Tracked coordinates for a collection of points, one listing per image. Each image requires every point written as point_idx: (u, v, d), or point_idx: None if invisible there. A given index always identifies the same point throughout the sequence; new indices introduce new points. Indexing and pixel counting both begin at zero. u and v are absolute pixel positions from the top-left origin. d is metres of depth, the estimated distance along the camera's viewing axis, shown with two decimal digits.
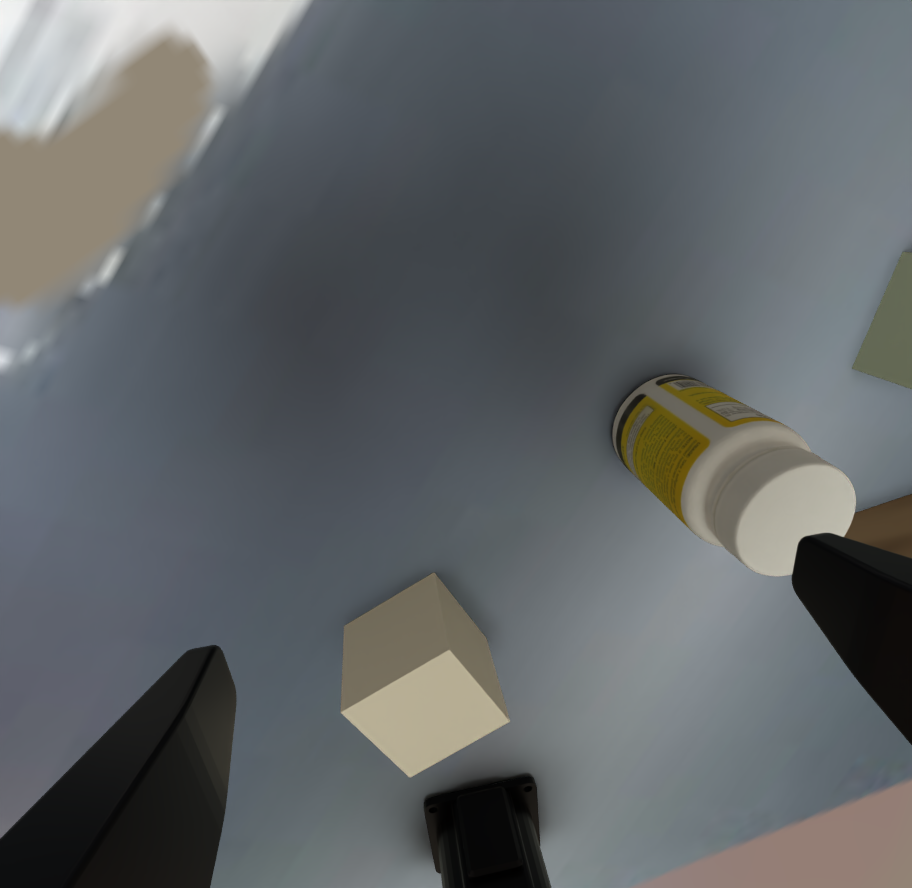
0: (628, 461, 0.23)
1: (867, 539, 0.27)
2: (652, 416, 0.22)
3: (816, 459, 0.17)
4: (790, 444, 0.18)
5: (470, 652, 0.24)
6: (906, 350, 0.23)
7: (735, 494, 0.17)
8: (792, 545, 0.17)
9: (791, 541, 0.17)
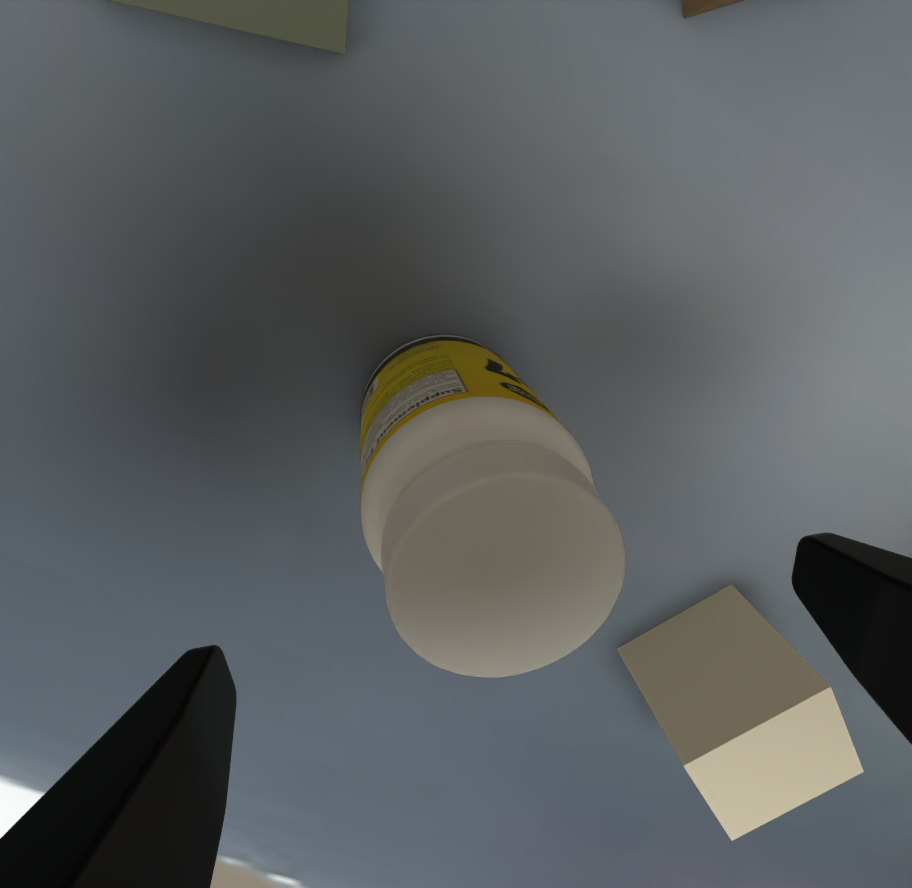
0: None
1: None
2: None
3: (386, 560, 0.09)
4: (390, 499, 0.10)
5: (716, 687, 0.19)
6: (271, 12, 0.11)
7: None
8: (558, 580, 0.09)
9: (548, 583, 0.09)
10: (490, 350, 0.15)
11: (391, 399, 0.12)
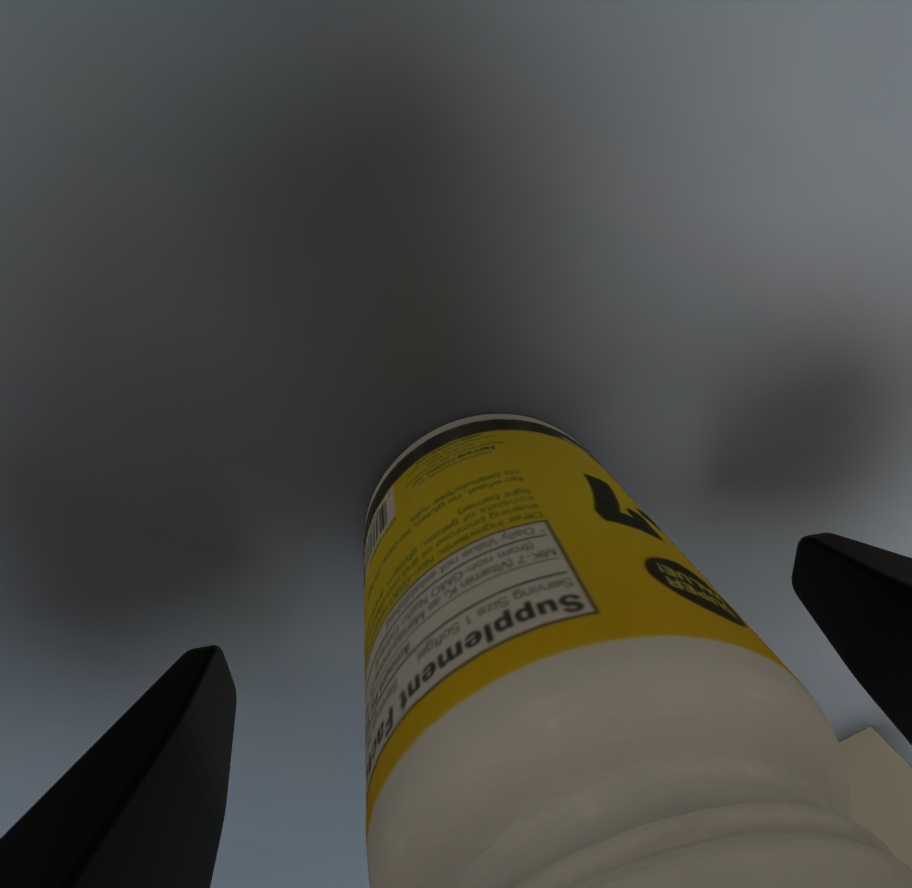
0: None
1: None
2: None
3: None
4: (436, 887, 0.04)
5: None
6: None
7: None
8: None
9: None
10: (571, 440, 0.10)
11: (425, 578, 0.06)
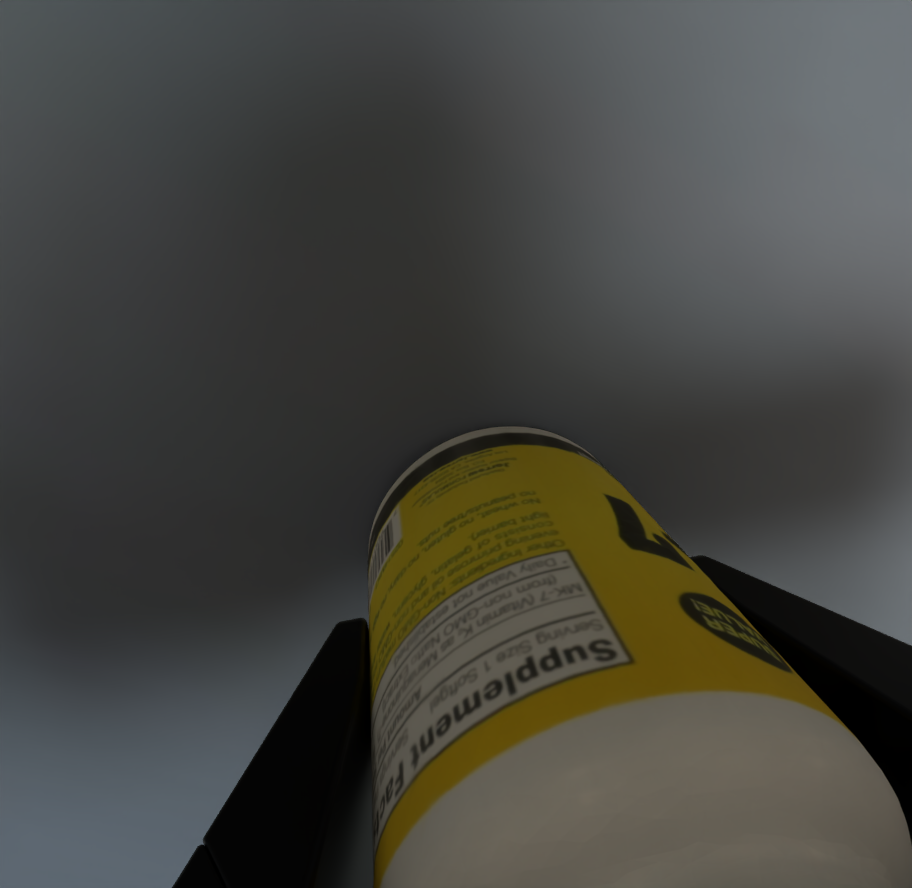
0: None
1: None
2: None
3: None
4: None
5: None
6: None
7: None
8: None
9: None
10: (587, 454, 0.09)
11: (437, 612, 0.06)
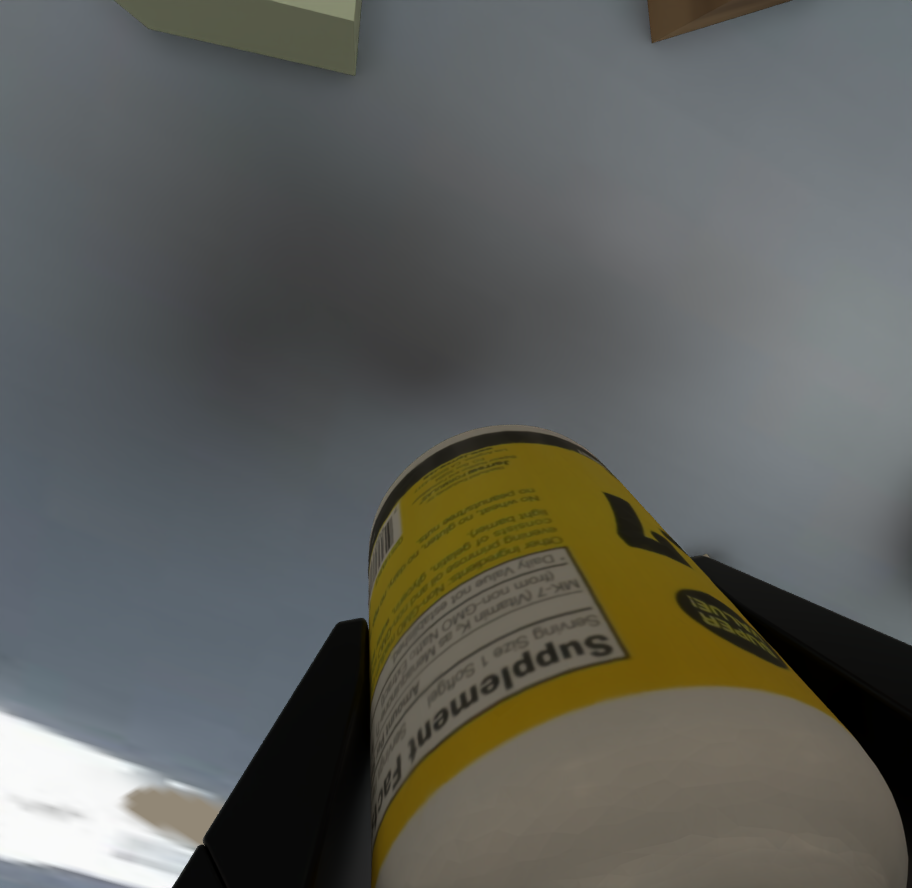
0: None
1: None
2: None
3: None
4: None
5: None
6: (295, 43, 0.13)
7: None
8: None
9: None
10: (587, 453, 0.09)
11: (436, 608, 0.06)
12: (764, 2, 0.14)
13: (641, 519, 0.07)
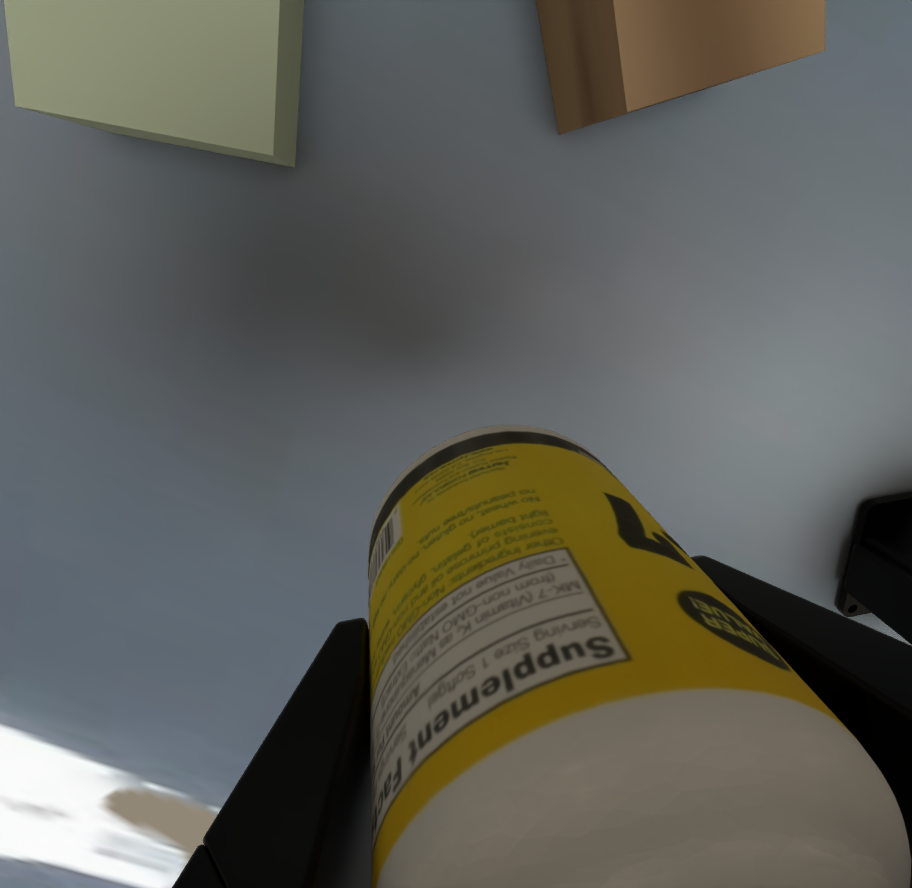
0: None
1: (575, 98, 0.16)
2: None
3: None
4: None
5: None
6: (234, 153, 0.15)
7: None
8: None
9: None
10: (588, 453, 0.09)
11: (435, 609, 0.06)
12: (650, 105, 0.16)
13: (642, 520, 0.07)
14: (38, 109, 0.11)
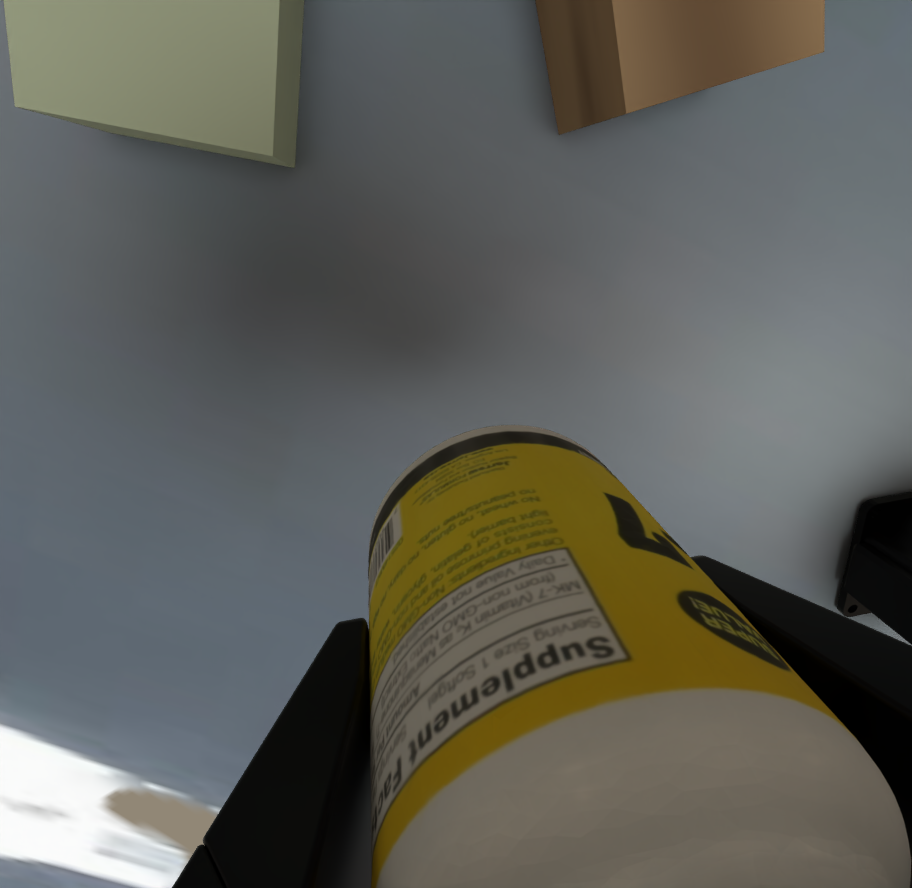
0: None
1: (575, 99, 0.16)
2: None
3: None
4: None
5: None
6: (234, 154, 0.15)
7: None
8: None
9: None
10: (588, 453, 0.09)
11: (436, 609, 0.06)
12: None
13: (642, 520, 0.07)
14: (38, 110, 0.11)
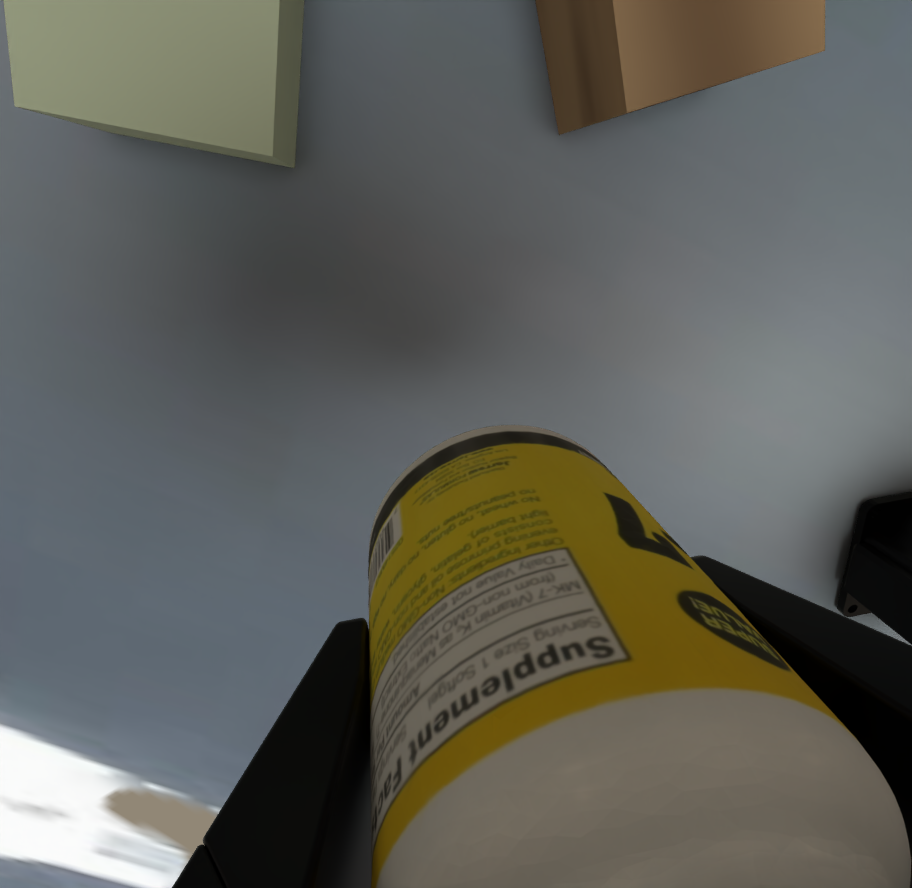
0: None
1: (575, 98, 0.16)
2: None
3: None
4: None
5: None
6: (234, 154, 0.15)
7: None
8: None
9: None
10: (588, 453, 0.09)
11: (436, 609, 0.06)
12: None
13: (642, 520, 0.07)
14: (38, 109, 0.11)
